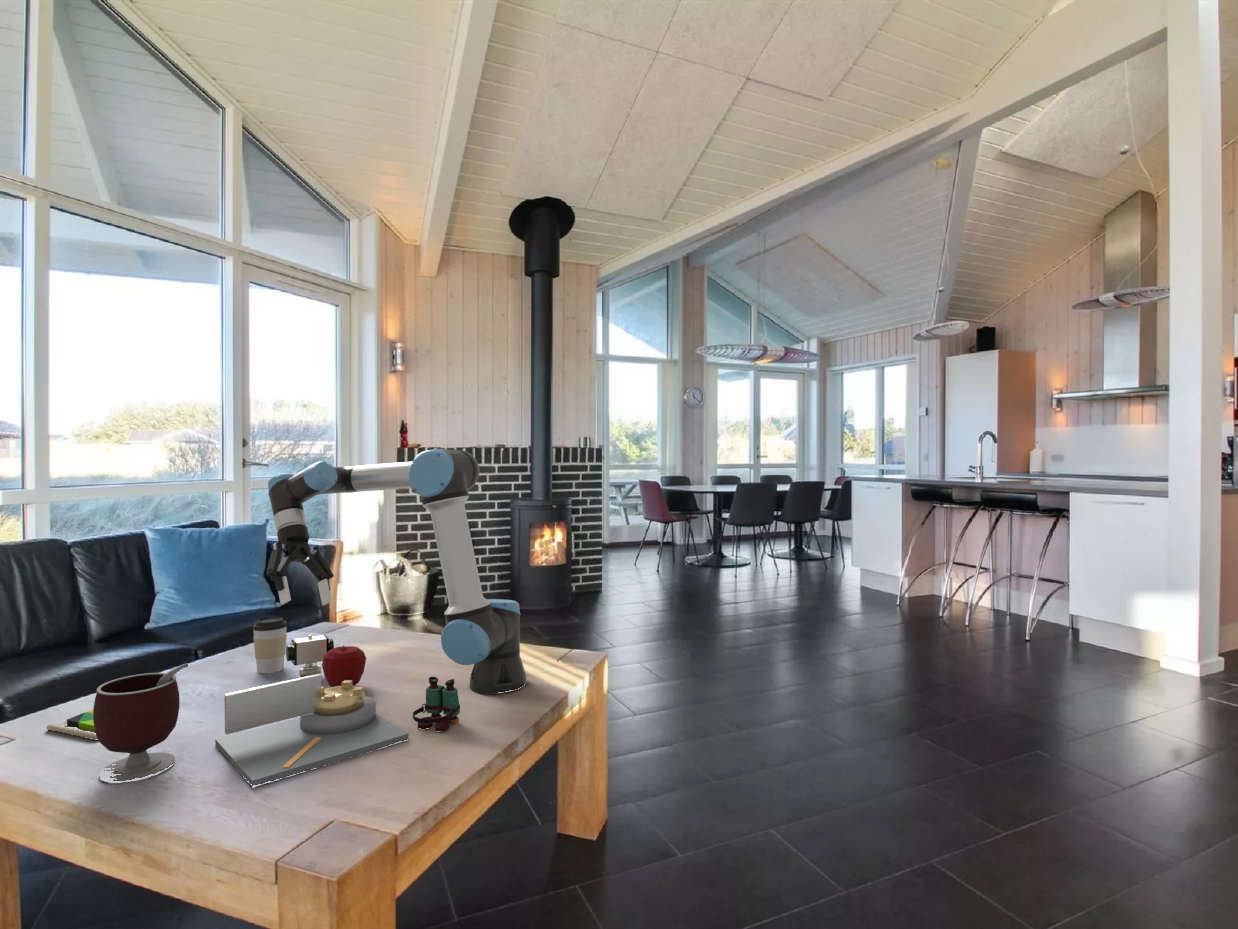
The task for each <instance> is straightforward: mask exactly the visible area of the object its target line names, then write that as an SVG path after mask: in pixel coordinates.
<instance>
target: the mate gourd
mask: <svg viewBox="0 0 1238 929" xmlns="http://www.w3.org/2000/svg"><path fill="white" fill-rule="evenodd" d="M184 668H189V664H188V662H185V663H184V664H181V665H179V666H176V667H175V668H173V669H171V670H169V671H167V672H149V673H141V674H133V675H128V676H123V677H118V678H115V679H113V680H109V681H107V682H104V683H102V684H100V685H99V686H98V687H97V688H96V694H95V698H94V703H93V707H92V710H93V722H94V727H95V732H96V736H97V739H98V741H97V742H98V743H100V744H101V745H102V746H103V747H104V748H105V749H106V750H108V751H109V752H111V753H112V752H113V753H121V754H129V755H128V757H125V758H122V759H119V760H116V761H115V762H112V763H110V764H111V765H110V764H108V765H109V766H108V765H106V766H105V767H104V768H111V770H106V771H114V772H112V773H113V774H121V775H116V776H114V777H112V776H110V778H116V779H117V780H115V779H114V780H113V781H126V780H132V779H135V778H142V777H145V776H148V775H150V774H155V773H157V772H159V771H162V770H164V769H165V768H168V767H169V766H170V765H172V764H173V763H174V761H175V762H176V757H175V755H174V754H172V753H169V752H162V751H161V752H148V751H147V750H149V749H151V748H153V747H155V746H157V745H159V744H162V742H164V741H166V740H167V738H168V737H169V735H170V734H171V733H172V732H173V730H174V729H175V728H176V725H177V723H178V717H179V713H180V712H179V711H180V691H179V685H178V681H177V677H176V674H177V673H178V672H180V671H181V670H183V669H184ZM112 764H116V765H113V766H112ZM112 768H115V769H112ZM104 771H105V770H104ZM112 773H111V774H112Z"/></svg>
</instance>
